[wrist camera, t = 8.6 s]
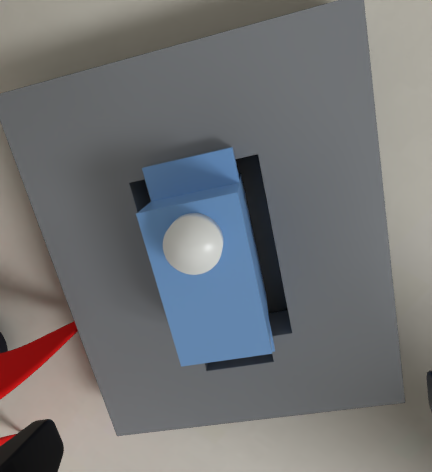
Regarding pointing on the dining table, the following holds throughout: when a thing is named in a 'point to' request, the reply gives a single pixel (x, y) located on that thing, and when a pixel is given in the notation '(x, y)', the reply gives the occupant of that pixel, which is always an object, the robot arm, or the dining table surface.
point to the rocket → (28, 359)
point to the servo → (206, 258)
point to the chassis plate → (278, 200)
